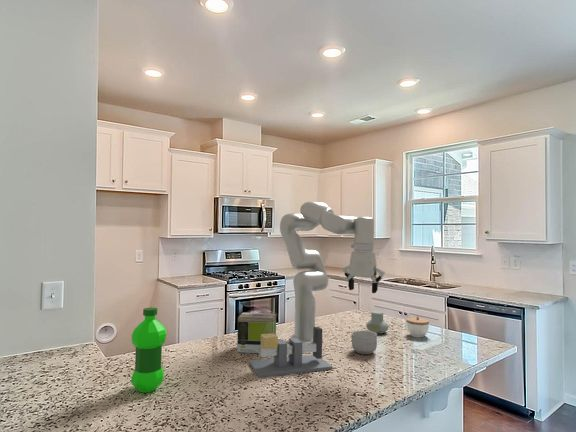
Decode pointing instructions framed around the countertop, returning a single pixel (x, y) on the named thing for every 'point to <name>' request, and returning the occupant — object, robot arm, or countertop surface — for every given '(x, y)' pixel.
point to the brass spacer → (269, 341)
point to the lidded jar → (417, 326)
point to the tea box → (254, 330)
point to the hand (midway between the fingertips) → (362, 291)
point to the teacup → (364, 341)
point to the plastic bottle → (148, 352)
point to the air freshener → (377, 323)
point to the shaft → (306, 346)
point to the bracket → (288, 361)
